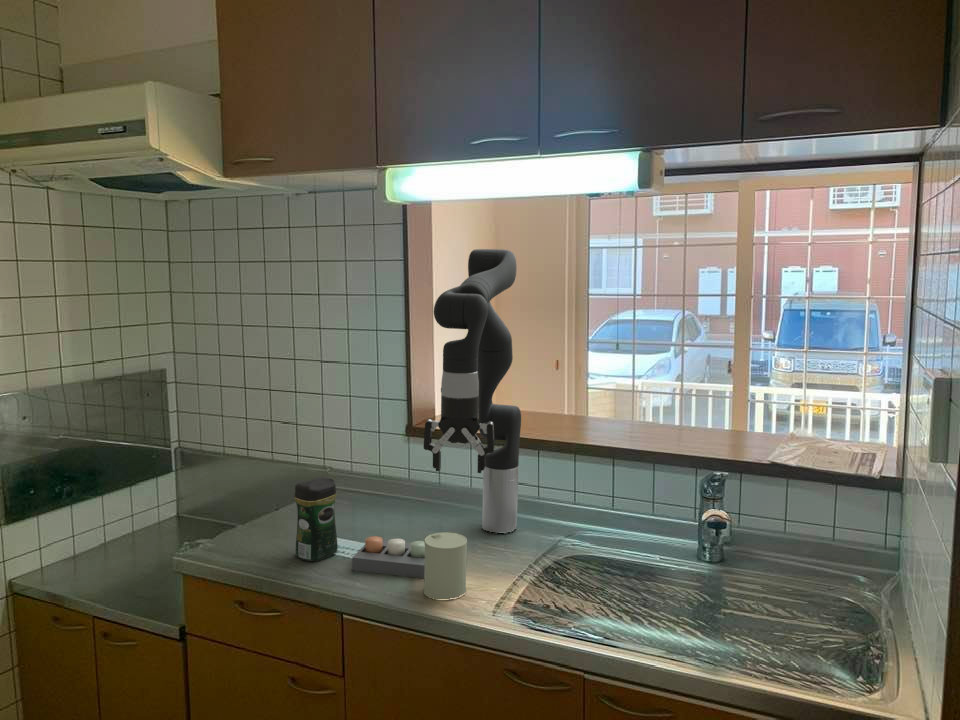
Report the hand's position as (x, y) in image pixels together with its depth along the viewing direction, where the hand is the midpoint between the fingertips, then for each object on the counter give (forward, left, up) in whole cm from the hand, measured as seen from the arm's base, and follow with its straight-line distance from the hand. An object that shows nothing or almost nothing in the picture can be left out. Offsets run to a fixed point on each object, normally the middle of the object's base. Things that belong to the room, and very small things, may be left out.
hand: (458, 471), depth 151 cm
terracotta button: (-15, -24, -26) cm, 38 cm away
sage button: (-15, -13, -26) cm, 32 cm away
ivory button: (-15, -18, -26) cm, 35 cm away
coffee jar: (-15, -38, -28) cm, 49 cm away
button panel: (-15, -18, -28) cm, 36 cm away
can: (-4, -3, -28) cm, 29 cm away
